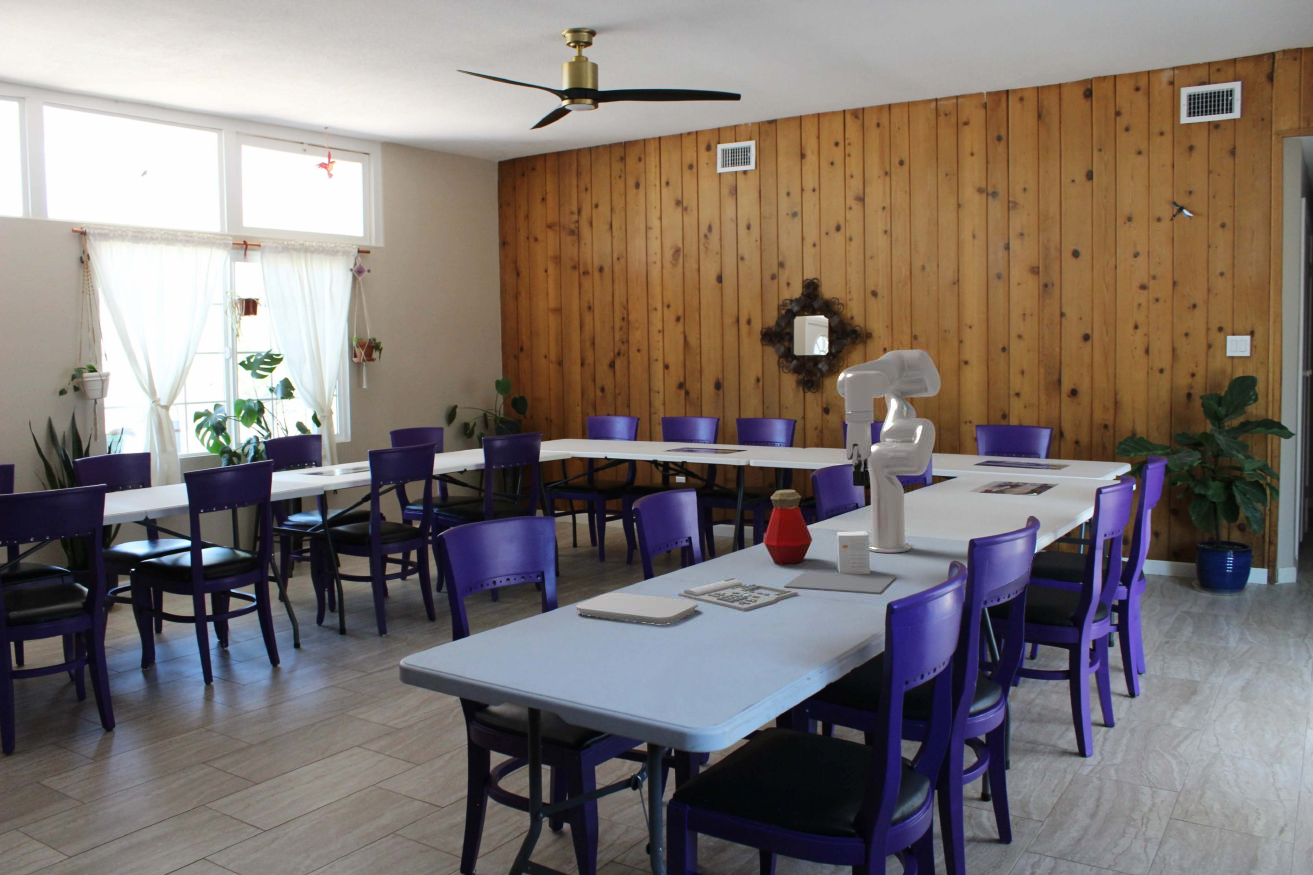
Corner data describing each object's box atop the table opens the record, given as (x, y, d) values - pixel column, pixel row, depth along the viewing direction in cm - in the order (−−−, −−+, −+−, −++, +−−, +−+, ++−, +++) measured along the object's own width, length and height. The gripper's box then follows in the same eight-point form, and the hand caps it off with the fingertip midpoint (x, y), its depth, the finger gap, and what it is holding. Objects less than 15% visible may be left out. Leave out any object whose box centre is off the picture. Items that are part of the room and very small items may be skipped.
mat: (805, 572, 262) (805, 571, 262) (895, 577, 252) (895, 576, 252) (784, 587, 246) (784, 585, 246) (879, 593, 235) (879, 592, 235)
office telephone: (676, 587, 242) (733, 573, 255) (676, 598, 242) (734, 583, 255) (743, 602, 224) (801, 586, 237) (744, 613, 224) (802, 597, 237)
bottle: (799, 568, 267) (797, 495, 266) (754, 564, 274) (752, 494, 273) (821, 557, 281) (819, 488, 279) (778, 554, 288) (776, 486, 286)
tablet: (667, 628, 213) (666, 618, 213) (571, 616, 227) (570, 607, 227) (703, 611, 227) (702, 601, 227) (610, 600, 241) (610, 591, 240)
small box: (867, 569, 263) (866, 530, 262) (870, 574, 257) (869, 534, 256) (837, 570, 264) (836, 531, 263) (839, 574, 258) (838, 535, 257)
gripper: (853, 416, 275) (855, 480, 277) (837, 420, 261) (839, 488, 262) (880, 415, 272) (881, 481, 273) (865, 419, 257) (867, 489, 259)
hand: (860, 484), depth 268 cm, fingers open, 3 cm apart
